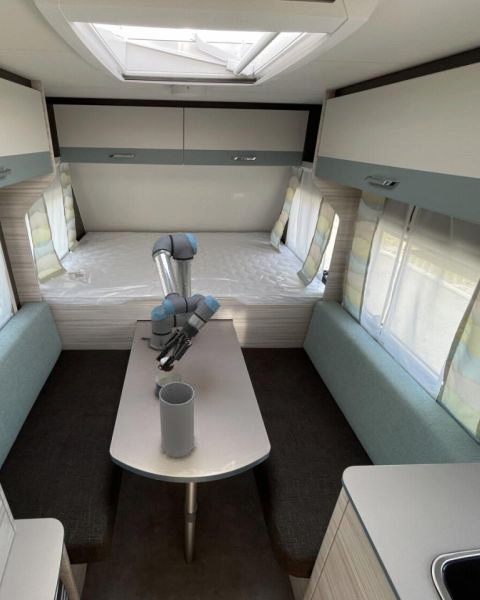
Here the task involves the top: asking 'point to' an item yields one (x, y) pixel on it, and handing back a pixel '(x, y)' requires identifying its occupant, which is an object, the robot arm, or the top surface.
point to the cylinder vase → (177, 418)
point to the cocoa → (165, 361)
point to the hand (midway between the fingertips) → (160, 364)
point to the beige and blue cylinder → (166, 379)
